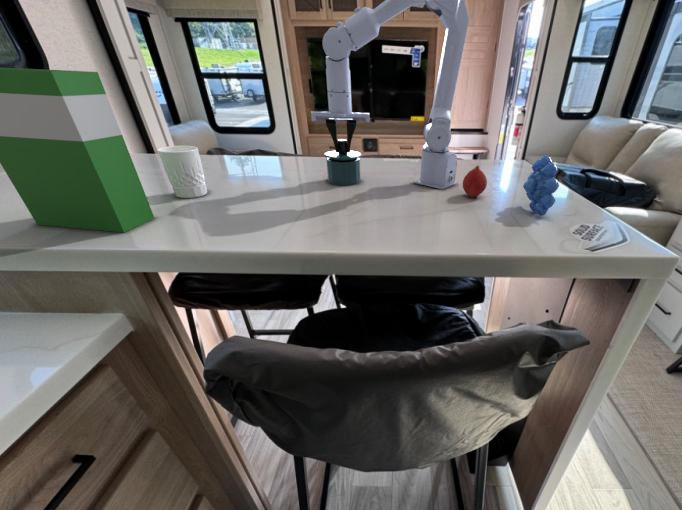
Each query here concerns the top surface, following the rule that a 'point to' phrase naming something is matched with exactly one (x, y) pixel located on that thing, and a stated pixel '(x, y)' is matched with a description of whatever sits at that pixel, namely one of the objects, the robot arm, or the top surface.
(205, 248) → the top surface
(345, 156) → the lid
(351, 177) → the pot
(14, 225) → the top surface
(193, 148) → the white cup
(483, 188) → the onion
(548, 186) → the grapes
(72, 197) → the hardback book
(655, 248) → the top surface
